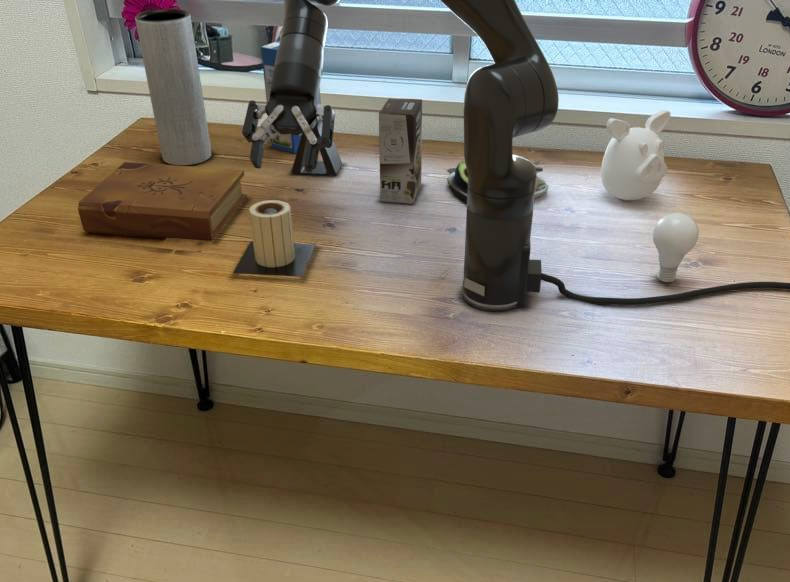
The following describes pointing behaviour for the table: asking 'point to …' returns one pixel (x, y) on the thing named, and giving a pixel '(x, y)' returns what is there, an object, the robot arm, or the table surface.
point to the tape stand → (292, 269)
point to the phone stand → (328, 154)
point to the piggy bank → (634, 158)
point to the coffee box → (400, 150)
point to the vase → (174, 85)
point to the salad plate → (460, 182)
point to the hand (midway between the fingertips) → (282, 168)
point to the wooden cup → (272, 233)
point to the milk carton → (268, 60)
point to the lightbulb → (673, 242)
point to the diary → (163, 201)
